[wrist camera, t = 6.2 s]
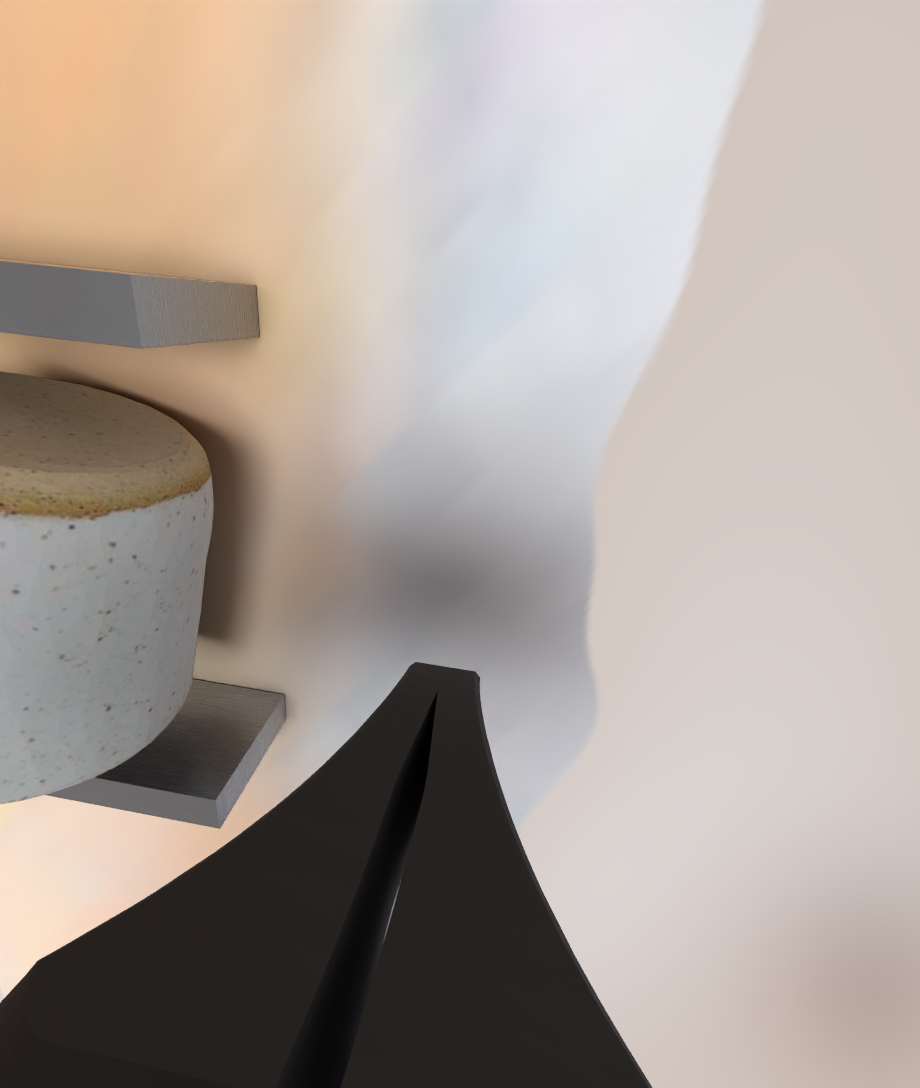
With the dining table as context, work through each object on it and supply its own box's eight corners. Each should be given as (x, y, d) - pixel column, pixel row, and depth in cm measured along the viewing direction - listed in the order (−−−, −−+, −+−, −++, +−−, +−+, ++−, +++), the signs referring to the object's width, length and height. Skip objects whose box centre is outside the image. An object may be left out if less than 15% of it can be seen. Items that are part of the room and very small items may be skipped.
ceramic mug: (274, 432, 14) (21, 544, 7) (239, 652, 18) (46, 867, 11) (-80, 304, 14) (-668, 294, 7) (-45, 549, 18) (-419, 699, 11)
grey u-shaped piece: (286, 719, 19) (219, 828, 15) (-18, 666, 20) (-156, 755, 16) (256, 285, 13) (130, 274, 9) (-182, 240, 14) (-474, 211, 10)
